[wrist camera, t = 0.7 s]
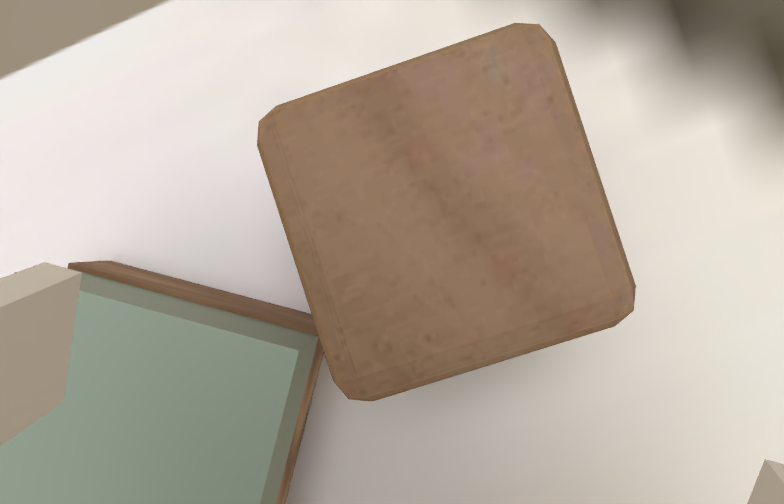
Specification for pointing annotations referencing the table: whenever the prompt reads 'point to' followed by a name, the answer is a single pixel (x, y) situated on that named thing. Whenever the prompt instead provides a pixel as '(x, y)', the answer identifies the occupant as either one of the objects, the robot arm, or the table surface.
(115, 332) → the tower top
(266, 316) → the tower base
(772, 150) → the table surface
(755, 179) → the table surface
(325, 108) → the block
